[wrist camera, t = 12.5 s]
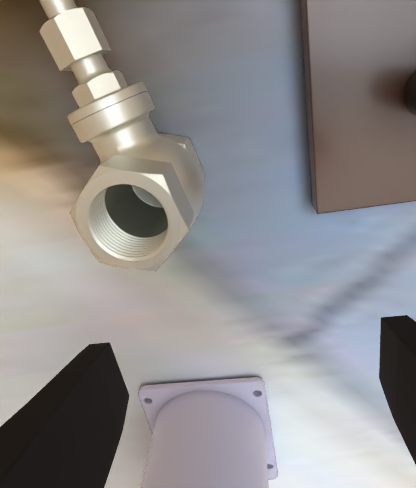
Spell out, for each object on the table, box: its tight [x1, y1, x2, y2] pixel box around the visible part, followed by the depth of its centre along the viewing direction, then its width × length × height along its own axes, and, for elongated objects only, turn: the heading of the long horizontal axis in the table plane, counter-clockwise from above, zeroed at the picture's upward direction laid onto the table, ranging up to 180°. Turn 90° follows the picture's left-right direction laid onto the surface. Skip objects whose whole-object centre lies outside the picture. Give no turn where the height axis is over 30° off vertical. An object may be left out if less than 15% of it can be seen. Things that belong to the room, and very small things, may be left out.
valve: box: [39, 0, 205, 271], centre depth 13 cm, size 7×7×12 cm
